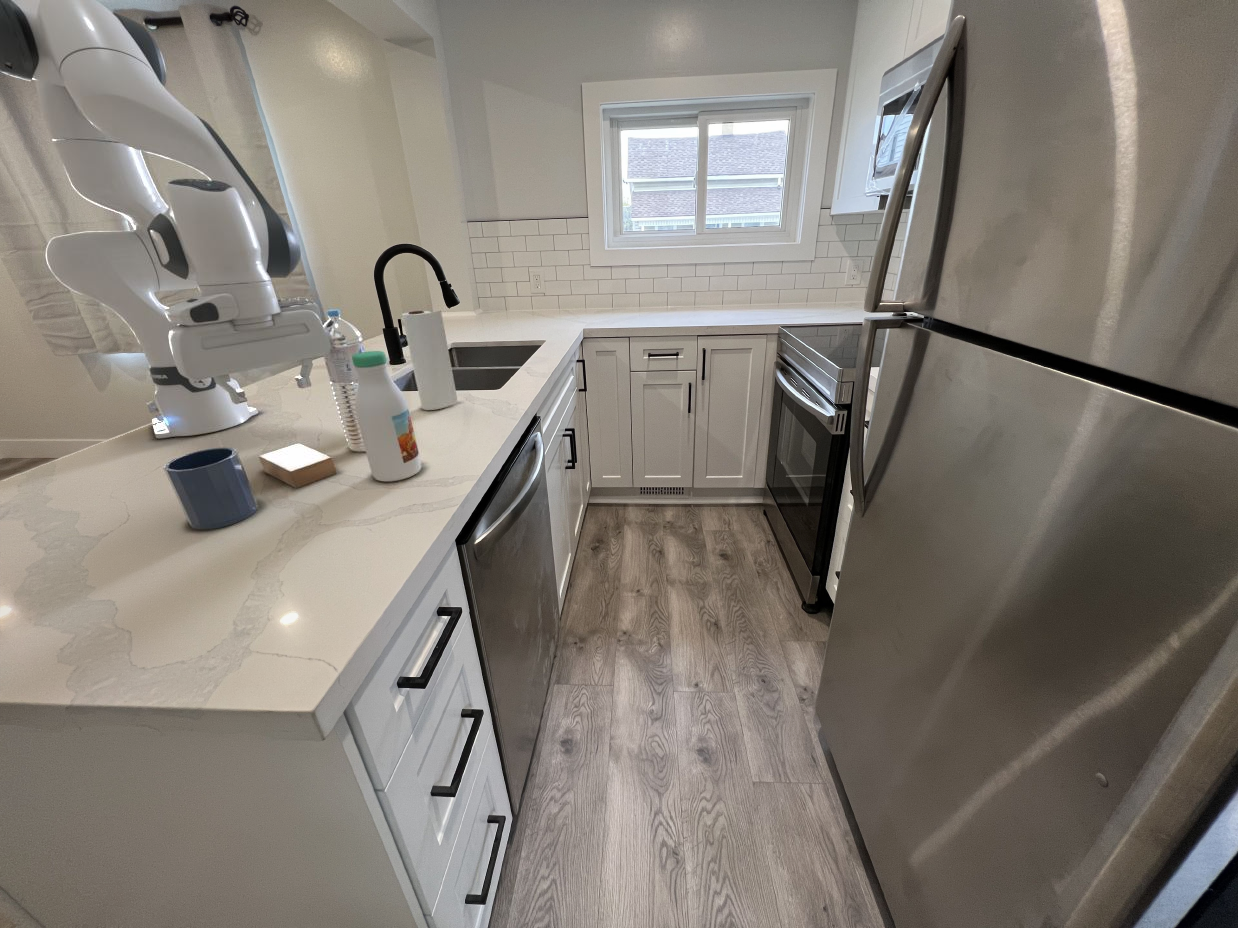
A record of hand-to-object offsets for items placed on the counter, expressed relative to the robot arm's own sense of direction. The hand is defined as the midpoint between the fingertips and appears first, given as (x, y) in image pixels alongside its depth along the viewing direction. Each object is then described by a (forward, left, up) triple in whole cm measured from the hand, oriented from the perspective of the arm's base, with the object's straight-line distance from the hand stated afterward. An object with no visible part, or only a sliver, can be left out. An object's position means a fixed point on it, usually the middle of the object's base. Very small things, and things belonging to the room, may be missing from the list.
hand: (274, 394), depth 79 cm
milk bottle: (+15, +9, -14) cm, 22 cm away
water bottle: (-1, +13, -14) cm, 19 cm away
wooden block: (0, 0, -14) cm, 14 cm away
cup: (+6, -13, -14) cm, 20 cm away
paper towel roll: (-10, +35, -14) cm, 39 cm away
